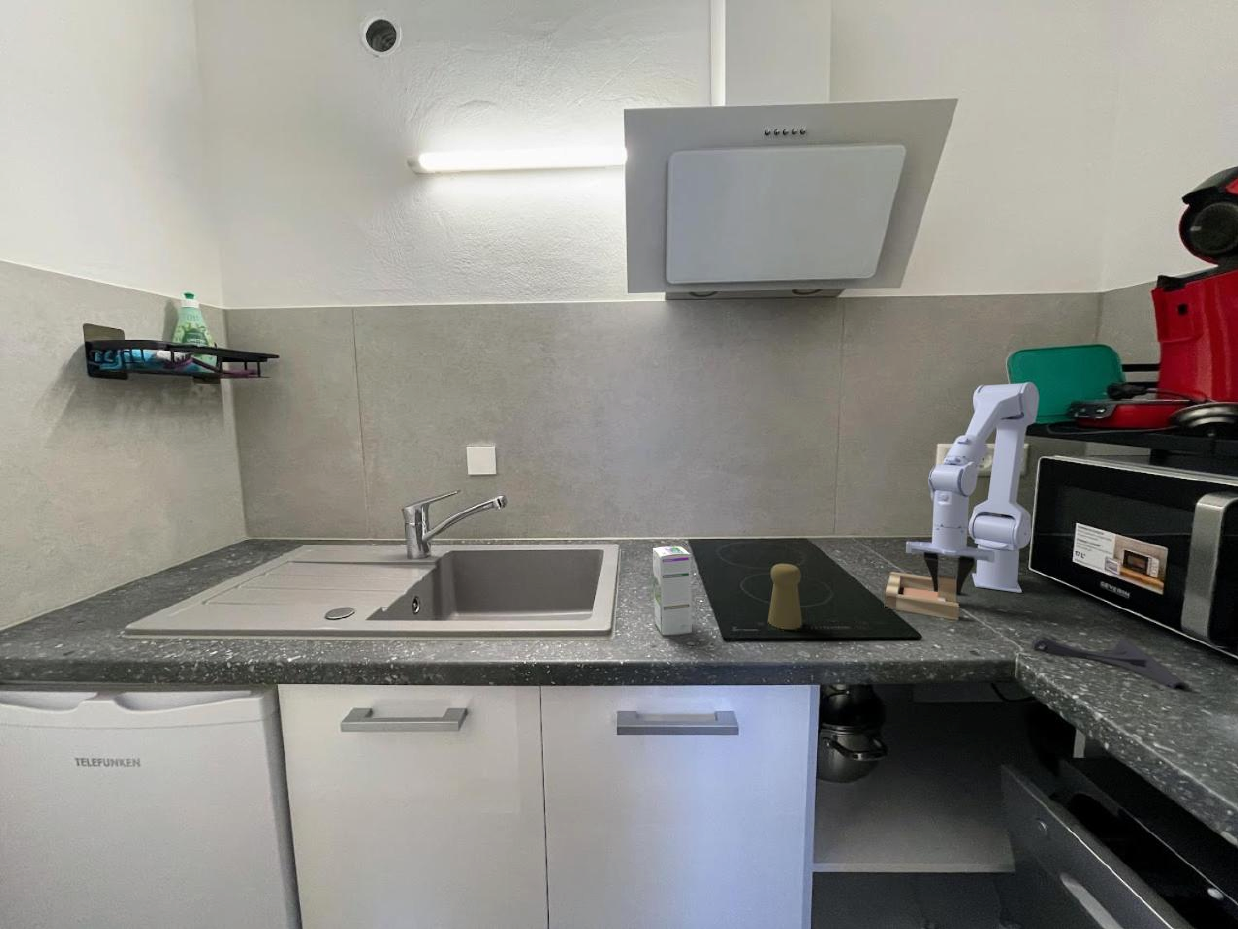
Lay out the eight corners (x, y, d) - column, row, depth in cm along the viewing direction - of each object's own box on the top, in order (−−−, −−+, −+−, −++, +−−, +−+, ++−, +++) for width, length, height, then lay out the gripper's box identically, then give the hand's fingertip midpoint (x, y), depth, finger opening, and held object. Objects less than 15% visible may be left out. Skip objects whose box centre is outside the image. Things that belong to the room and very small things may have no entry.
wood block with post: (937, 594, 104) (937, 568, 104) (954, 596, 103) (955, 570, 102) (938, 610, 96) (938, 582, 95) (956, 612, 94) (957, 584, 94)
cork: (789, 615, 94) (791, 559, 93) (809, 628, 88) (810, 568, 87) (761, 619, 93) (762, 562, 92) (779, 632, 87) (780, 571, 86)
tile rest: (890, 582, 112) (890, 572, 112) (954, 592, 105) (954, 580, 105) (884, 607, 97) (884, 595, 97) (958, 620, 91) (958, 607, 91)
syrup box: (693, 633, 87) (693, 553, 86) (660, 636, 86) (660, 555, 85) (682, 620, 93) (682, 544, 91) (652, 623, 92) (651, 546, 90)
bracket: (1017, 635, 86) (1018, 620, 86) (1130, 649, 80) (1131, 633, 80) (1050, 675, 73) (1051, 657, 73) (1188, 696, 67) (1190, 676, 67)
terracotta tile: (903, 594, 106) (904, 587, 106) (937, 599, 103) (937, 592, 102) (902, 603, 101) (902, 596, 101) (937, 608, 98) (938, 601, 97)
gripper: (906, 525, 98) (904, 591, 99) (998, 533, 90) (994, 605, 92) (907, 518, 104) (905, 581, 105) (993, 525, 96) (990, 593, 98)
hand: (946, 591), depth 99 cm, fingers closed on wood block with post, 3 cm apart
